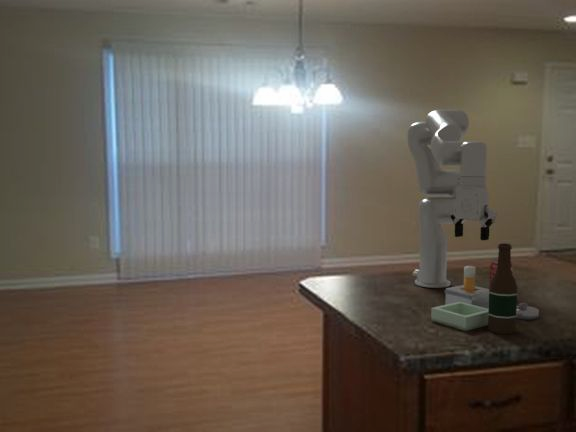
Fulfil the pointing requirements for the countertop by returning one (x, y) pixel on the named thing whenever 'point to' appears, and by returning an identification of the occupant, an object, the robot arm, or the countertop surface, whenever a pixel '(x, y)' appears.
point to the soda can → (494, 267)
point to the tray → (460, 315)
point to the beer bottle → (503, 295)
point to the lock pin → (469, 278)
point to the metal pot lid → (526, 312)
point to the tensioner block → (468, 296)
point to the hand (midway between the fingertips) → (471, 238)
